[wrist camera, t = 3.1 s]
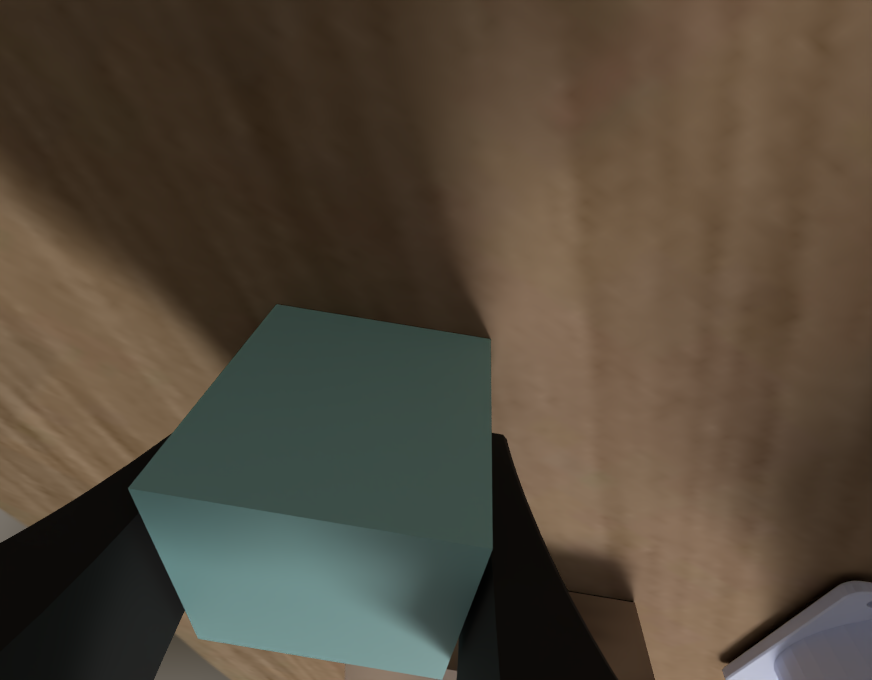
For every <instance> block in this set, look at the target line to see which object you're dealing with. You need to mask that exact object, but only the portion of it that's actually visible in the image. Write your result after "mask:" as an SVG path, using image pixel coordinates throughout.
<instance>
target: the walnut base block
mask: <svg viewBox="0 0 872 680" xmlns="http://www.w3.org/2000/svg"><path fill="white" fill-rule="evenodd" d="M569 594H570V596H571V598H572V600H573V602H574V604H575V606H576V607H577V609H578V611H579V613H580V615H581V617H582V618H583V620H584V622H585V624H586V626H587V627H588V629H589V631H590V633H591V635H592V636H593V638H594V640H595V641H596V643H597V645H598V647H599V648H600V650H601V652H602V653H603V655H604V657H605V659H606V660H607V662H608V664H609V665H610V667H611V669H612V670H613V672H614V674H615V675H616V677H617V678H618V680H655V678H654V674H653V670H652V667H651V663H650V659H649V655H648V651H647V648H646V644H645V640H644V636H643V632H642V629H641V625H640V621H639V617H638V613H637V609H636V606H635V603H634V602H628V601H622V600H616V599H610V598H604V597H598V596H592V595H586V594H580V593H574V592H569ZM458 642H459V638H458V640H457V643H456V645H455V648H454V651H453V653H452V656H451V658H450V661H449V664H448V666H447V669H446V671H445V674H444V677H443V679H442V680H457V666H458ZM345 680H440V679H434V678H428V677H422V676H416V675H411V674H405V673H399V672H393V671H387V670H381V669H375V668H369V667H363V666H357V665H351V664H345Z"/></svg>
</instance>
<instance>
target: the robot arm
mask: <svg viewBox="0 0 872 680" xmlns="http://www.w3.org/2000/svg"><path fill="white" fill-rule="evenodd" d="M170 436H171V434H170V435H169V436H167V437H166V438H165V439H163V440H162V441H160V442H159V443H158V444H156V445H155V446H153V447H152V448H151V449H149V450H148V451H146V452H145V453H144V454H142V455H141V456H139V457H138V458H137V459H135V460H134V461H132V462H131V463H129V464H128V465H126V466H125V467H123V468H122V469H120V470H119V471H117V472H116V473H114V474H113V475H111V476H110V477H108V478H107V479H105V480H104V481H102V482H101V483H99V484H98V485H96V486H95V487H93V488H92V489H90V490H89V491H87V492H86V493H84V494H83V495H81V496H79V497H78V498H76V499H75V500H73V501H71V502H70V503H68V504H67V505H65V506H63V507H62V508H60V509H58V510H57V511H55V512H53V513H52V514H50V515H48V516H47V517H45V518H43V519H42V520H40V521H38V522H36V523H35V524H33V525H31V526H30V527H28V528H26V529H24V530H23V531H21V532H19V533H17V534H16V535H14V536H12V537H10V538H8V539H7V540H5V541H3V542H1V543H0V680H154V678H155V676H156V673H157V671H158V669H159V666H160V664H161V662H162V660H163V657H164V655H165V653H166V651H167V648H168V646H169V644H170V642H171V640H172V637H173V635H174V633H175V631H176V629H177V626H178V624H179V622H180V620H181V618H182V615H183V613H184V611H185V609H184V607H183V605H182V603H181V600H180V598H179V596H178V594H177V592H176V590H175V588H174V586H173V583H172V581H171V579H170V577H169V575H168V573H167V571H166V569H165V566H164V564H163V562H162V560H161V558H160V556H159V554H158V551H157V549H156V547H155V545H154V543H153V541H152V539H151V537H150V534H149V532H148V530H147V528H146V526H145V524H144V522H143V520H142V517H141V515H140V513H139V511H138V509H137V507H136V505H135V503H134V500H133V498H132V496H131V494H130V492H129V490H128V488H129V486H130V485H131V484H132V483H133V481H134V480H135V479H136V478H137V476H138V475H139V474H140V473H141V471H142V470H143V469H144V468H145V466H146V465H147V464H148V463H149V462H150V460H151V459H152V458H153V457H154V455H155V454H156V453H157V452H158V450H159V449H160V448H161V447H162V445H163V444H164V443H165V442H166V440H167V439H168V438H169V437H170ZM492 530H493V550H492V552H491V555H490V557H489V560H488V563H487V565H486V568H485V570H484V573H483V575H482V578H481V581H480V583H479V586H478V588H477V591H476V594H475V596H474V599H473V601H472V604H471V607H470V609H469V612H468V614H467V617H466V620H465V622H464V625H463V627H462V630H461V632H460V635H459V642H458V666H457V680H618V678H617V677H616V675H615V674H614V672H613V670H612V669H611V667H610V665H609V664H608V662H607V660H606V659H605V657H604V655H603V653H602V652H601V650H600V648H599V647H598V645H597V643H596V641H595V640H594V638H593V636H592V635H591V633H590V631H589V629H588V627H587V626H586V624H585V622H584V620H583V618H582V617H581V615H580V613H579V611H578V609H577V607H576V606H575V604H574V602H573V600H572V598H571V596H570V594H569V592H568V590H567V588H566V586H565V584H564V582H563V580H562V578H561V576H560V574H559V572H558V570H557V568H556V566H555V564H554V562H553V560H552V558H551V556H550V553H549V551H548V549H547V547H546V545H545V542H544V540H543V538H542V536H541V534H540V531H539V529H538V526H537V524H536V522H535V519H534V517H533V514H532V512H531V510H530V507H529V505H528V502H527V500H526V497H525V494H524V492H523V489H522V486H521V484H520V481H519V478H518V475H517V472H516V469H515V466H514V463H513V460H512V457H511V454H510V450H509V447H508V443H507V439H506V438H505V437H504V435H501V434H495V433H492ZM722 671H723V674H724V677H725V679H726V680H872V583H871V582H865V581H848V582H845V583H842V584H840V585H838V586H836V587H835V588H834V589H832V590H831V591H829V592H828V593H827V594H825V595H824V596H822V597H821V598H820V599H818V600H817V601H815V602H814V603H813V604H811V605H810V606H809V607H807V608H806V609H804V610H803V611H802V612H800V613H799V614H797V615H796V616H795V617H793V618H792V619H790V620H789V621H788V622H786V623H785V624H783V625H782V626H781V627H779V628H778V629H776V630H775V631H774V632H772V633H771V634H770V635H768V636H767V637H765V638H764V639H763V640H761V641H760V642H758V643H757V644H756V645H754V646H753V647H751V648H750V649H749V650H747V651H746V652H744V653H743V654H742V655H740V656H739V657H737V658H736V659H735V660H733V661H732V662H731V663H729V664H728V665H726V666H725V667H724V668H723V669H722Z"/></svg>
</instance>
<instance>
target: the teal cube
mask: <svg viewBox="0 0 872 680" xmlns="http://www.w3.org/2000/svg"><path fill="white" fill-rule="evenodd" d="M128 490H129V492H130V494H131V496H132V498H133V500H134V503H135V505H136V507H137V509H138V511H139V513H140V515H141V517H142V520H143V522H144V524H145V526H146V528H147V530H148V532H149V534H150V537H151V539H152V541H153V543H154V545H155V547H156V549H157V551H158V554H159V556H160V558H161V560H162V562H163V564H164V566H165V569H166V571H167V573H168V575H169V577H170V579H171V581H172V583H173V586H174V588H175V590H176V592H177V594H178V596H179V598H180V600H181V603H182V605H183V607H184V609H185V611H186V613H187V615H188V618H189V620H190V622H191V624H192V626H193V628H194V630H195V632H196V635H197V637H198V639H203V640H209V641H215V642H221V643H227V644H233V645H239V646H245V647H251V648H256V649H262V650H268V651H274V652H280V653H286V654H292V655H298V656H304V657H310V658H316V659H322V660H328V661H334V662H339V663H345V664H351V665H357V666H363V667H369V668H375V669H381V670H387V671H393V672H399V673H405V674H411V675H416V676H422V677H428V678H434V679H440V680H442V679H443V677H444V674H445V671H446V669H447V666H448V664H449V661H450V658H451V656H452V653H453V651H454V648H455V645H456V643H457V640H458V638H459V635H460V632H461V630H462V627H463V625H464V622H465V620H466V617H467V614H468V612H469V609H470V607H471V604H472V601H473V599H474V596H475V594H476V591H477V588H478V586H479V583H480V581H481V578H482V575H483V573H484V570H485V568H486V565H487V563H488V560H489V557H490V555H491V552H492V550H493V530H492V430H491V339H487V338H481V337H475V336H469V335H463V334H457V333H451V332H444V331H438V330H432V329H426V328H420V327H414V326H408V325H401V324H395V323H389V322H383V321H377V320H371V319H365V318H358V317H352V316H346V315H340V314H334V313H328V312H322V311H315V310H309V309H303V308H297V307H291V306H285V305H279V304H276V305H275V307H274V308H273V309H272V310H271V312H270V313H269V314H268V315H267V317H266V318H265V319H264V320H263V321H262V323H261V324H260V325H259V326H258V328H257V329H256V330H255V331H254V333H253V334H252V335H251V336H250V338H249V339H248V340H247V341H246V343H245V344H244V345H243V346H242V347H241V349H240V350H239V351H238V352H237V354H236V355H235V356H234V357H233V359H232V360H231V361H230V362H229V364H228V365H227V366H226V367H225V369H224V370H223V371H222V372H221V374H220V375H219V376H218V377H217V378H216V380H215V381H214V382H213V383H212V385H211V386H210V387H209V388H208V390H207V391H206V392H205V393H204V395H203V396H202V397H201V398H200V400H199V401H198V402H197V403H196V405H195V406H194V407H193V408H192V409H191V411H190V412H189V413H188V414H187V416H186V417H185V418H184V419H183V421H182V422H181V423H180V424H179V426H178V427H177V428H176V429H175V431H174V432H173V433H172V434H171V436H170V437H169V438H168V439H167V440H166V442H165V443H164V444H163V445H162V447H161V448H160V449H159V450H158V452H157V453H156V454H155V455H154V457H153V458H152V459H151V460H150V462H149V463H148V464H147V465H146V466H145V468H144V469H143V470H142V471H141V473H140V474H139V475H138V476H137V478H136V479H135V480H134V481H133V483H132V484H131V485H130V486H129V488H128Z"/></svg>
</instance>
